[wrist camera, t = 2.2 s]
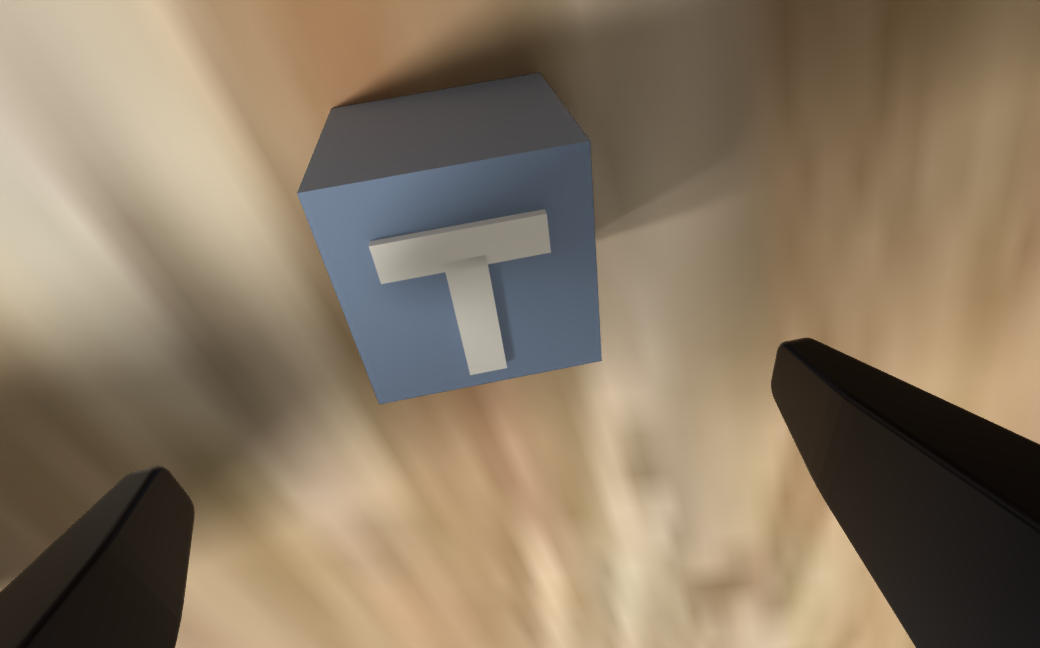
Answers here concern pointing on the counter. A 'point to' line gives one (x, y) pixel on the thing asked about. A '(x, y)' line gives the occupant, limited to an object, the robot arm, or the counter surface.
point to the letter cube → (458, 234)
